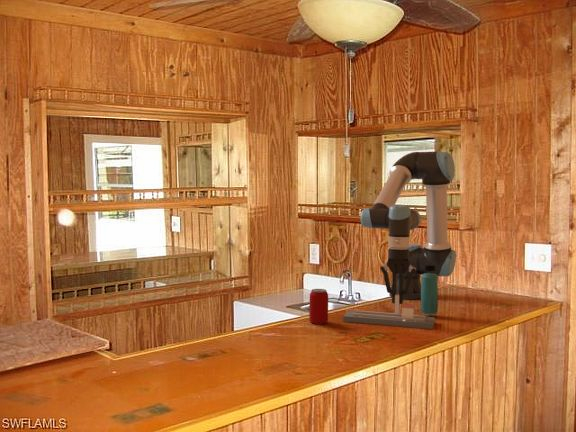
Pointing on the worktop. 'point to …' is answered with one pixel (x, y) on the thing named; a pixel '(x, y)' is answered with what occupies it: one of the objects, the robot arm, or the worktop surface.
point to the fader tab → (408, 310)
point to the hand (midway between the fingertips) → (397, 312)
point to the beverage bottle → (429, 291)
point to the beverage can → (318, 306)
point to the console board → (389, 319)
